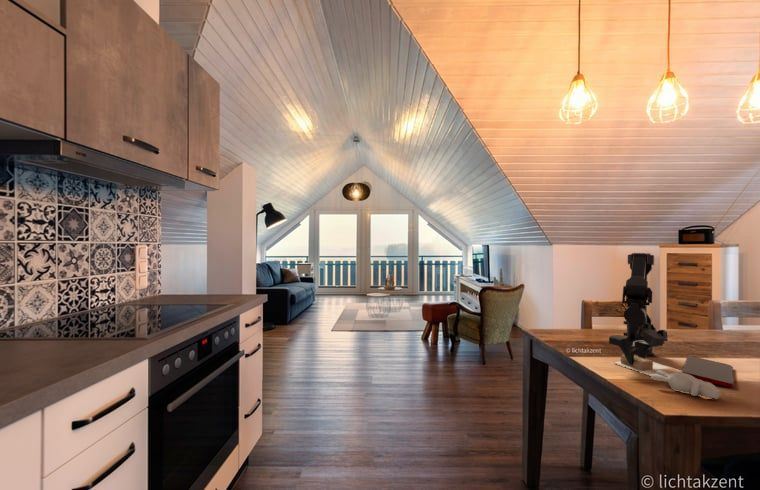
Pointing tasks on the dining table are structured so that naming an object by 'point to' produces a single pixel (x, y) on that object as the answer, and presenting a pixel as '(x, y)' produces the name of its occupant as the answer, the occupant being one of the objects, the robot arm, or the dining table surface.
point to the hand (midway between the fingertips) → (636, 364)
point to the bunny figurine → (688, 384)
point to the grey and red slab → (709, 371)
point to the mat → (655, 368)
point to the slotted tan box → (638, 363)
